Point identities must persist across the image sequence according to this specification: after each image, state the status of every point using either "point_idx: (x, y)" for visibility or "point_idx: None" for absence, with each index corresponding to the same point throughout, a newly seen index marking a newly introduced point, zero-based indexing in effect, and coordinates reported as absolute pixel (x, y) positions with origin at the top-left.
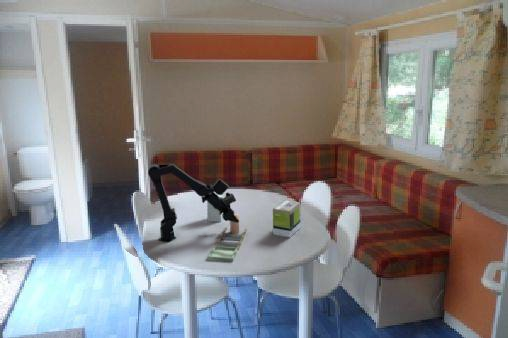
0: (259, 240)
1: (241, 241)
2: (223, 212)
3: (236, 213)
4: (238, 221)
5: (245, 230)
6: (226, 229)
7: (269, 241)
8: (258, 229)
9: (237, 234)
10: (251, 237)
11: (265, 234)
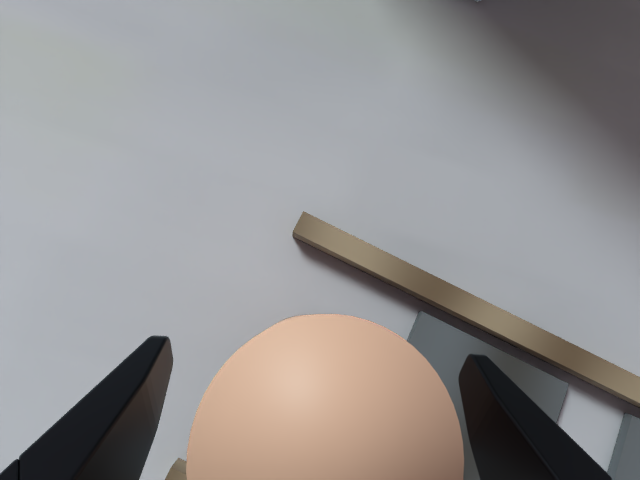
0: (590, 173)
1: (635, 376)
2: None
3: (265, 371)
4: (490, 371)
5: (350, 243)
6: None
7: (629, 94)
8: (313, 89)
9: None
10: (502, 226)
11: (462, 70)
